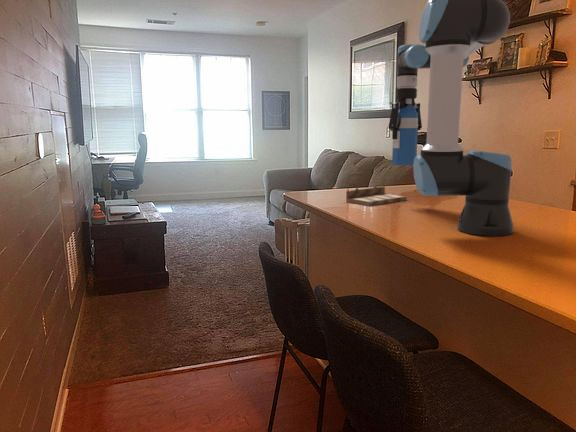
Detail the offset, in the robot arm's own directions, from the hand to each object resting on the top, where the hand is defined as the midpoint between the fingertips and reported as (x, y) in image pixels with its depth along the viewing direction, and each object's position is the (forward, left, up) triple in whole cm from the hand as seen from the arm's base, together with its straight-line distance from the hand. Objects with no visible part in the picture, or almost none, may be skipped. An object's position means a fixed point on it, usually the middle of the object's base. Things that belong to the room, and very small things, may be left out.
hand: (404, 147), depth 178 cm
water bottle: (0, 0, -7) cm, 7 cm away
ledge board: (-3, +12, -22) cm, 25 cm away
